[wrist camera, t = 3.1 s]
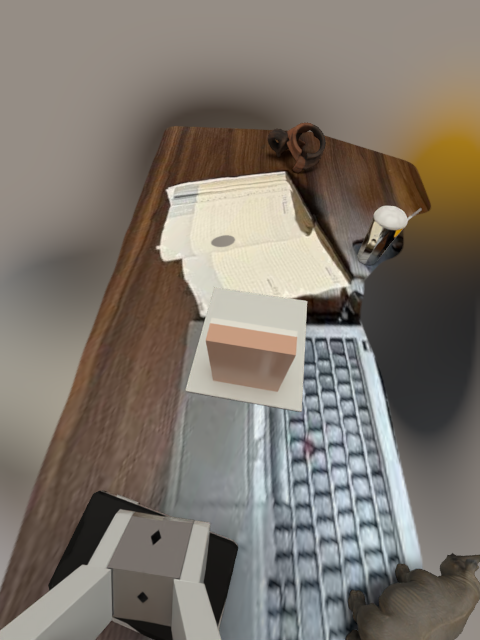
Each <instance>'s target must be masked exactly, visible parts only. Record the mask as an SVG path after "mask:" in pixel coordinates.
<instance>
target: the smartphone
mask: <svg viewBox="0 0 480 640" xmlns="http://www.w3.org/2000/svg"><path fill="white" fill-rule="evenodd" d="M120 509H122V510H128V511H135V512H140V513H146V514H151V515H157V516H162V517H165V516H168V517H171V516H169V515H166V514H163V513H161V512H158V511H156V510H153V509H150V508H148V507H145V506H143V505H140V502H137V501H135V500H132V499H129V498H127V497H124V496H121V495H117V496H116V495H114V494H111V493H108V492H106V491H103V490H101V491H98V492H96V493H94V494H93V495H92V497H91V499H90V501H89V503H88V505H87V507H86V509H85V511H84V513H83V516H82V518H81V520H80V522H79V524H78V526H77V528H76V530H75V532H74V534H73V536H72V538H71V540H70V542H69V544H68V546H67V548H66V550H65V552H64V554H63V556H62V558H61V560H60V562H59V564H58V566H57V568H56V570H55V572H54V575H53V577H52V579H51V581H50V583H49V585H48V586H49V591H50V590H51V589H53V588H54V587H55V586H56V585H58V584H59V583H60V582H61V581H62V580H64V579H65V578H66V577H67V576H69V575H70V574H71V573H72V572H74V571H75V570H76V569H77V568H79V567H80V566H81V565H88V563H89V561H90V559H91V557H92V556H93V554H94V552H95V550H96V548H97V547H98V545H99V543H100V541H101V539H102V538H103V536H104V534H105V532H106V530H107V529H108V527H109V525H110V523H111V521H112V520H113V518H114V516H115V514H116V513H117V512H118V511H119V510H120ZM237 551H238V545H237V544H236V542H235V541H234V540H232V539H229V538H226V537H224V536H221V535H219V534H216V533H213V532H211V531H210V535H209V545H208V554H207V562H206V570H205V576H204V582H203V584H205V588H206V591H207V594H208V598H209V601H210V604H211V607H212V611H213V614H214V617H215V620H216V624H217V627H218V630H219V627H220V623H221V619H222V615H223V610H224V606H225V602H226V598H227V593H228V589H229V585H230V581H231V576H232V572H233V568H234V564H235V559H236V555H237ZM111 621H113V622H115V623H118V624H120V625H122V626H124V627H127V628H129V629H131V630H134V631H136V632H138V633H140V634H143V635H145V636H147V637H149V638H152V639H154V640H173V636H172V630H171V626H166V625H161V624H156V623H152V622H147V621H141V620H133V619H125V618H117V617H112V620H111Z"/></svg>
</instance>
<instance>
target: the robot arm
mask: <svg viewBox="0 0 480 640" xmlns="http://www.w3.org/2000/svg"><path fill="white" fill-rule="evenodd" d="M209 535H210V523H209V522H202V521H195V520H191V519H183V518H176V517H168V516H165V517H162V516H157V515H151V514H146V513H140V512H135V511H128V510H122V509H120V510H119V511H118V512H117V513H116V514H115V516H114V518H113V520H112V521H111V523H110V525H109V527H108V529H107V530H106V532H105V534H104V536H103V538H102V539H101V541H100V543H99V545H98V547H97V548H96V550H95V552H94V554H93V556H92V557H91V559H90V561H89V563H88V565H81V566H80V567H79V568H77V569H76V570H75V571H74V572H72V573H71V574H70V575H69V576H67V577H66V578H65V579H64V580H62V581H61V582H60V583H59V584H58V585H56V586H55V587H54V588H53V589H51V590H50V591H49V592H48V593H46V594H45V595H44V596H43V597H41V598H40V599H39V600H38V601H36V602H35V603H34V604H33V605H31V606H30V607H29V608H28V609H26V610H25V611H24V612H23V613H21V614H20V615H19V616H18V617H17V618H15V619H14V620H13V621H12V622H10V623H9V624H8V625H7V626H5V627H4V628H3V629H2V630H0V640H95V639H96V638H97V637H98V636H99V634H100V633H101V632H102V631H103V630H104V629H105V627H106V626H107V625H108V624H109V623H110V622H111V620H112V617H117V618H125V619H133V620H141V621H147V622H152V623H156V624H161V625H166V626H171V630H172V636H173V640H221V637H220V633H219V630H218V627H217V624H216V620H215V617H214V614H213V611H212V607H211V604H210V601H209V598H208V594H207V591H206V588H205V584H203V582H204V576H205V570H206V562H207V554H208V545H209Z"/></svg>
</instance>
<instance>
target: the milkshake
mask: <svg viewBox="0 0 480 640" xmlns="http://www.w3.org/2000/svg"><path fill="white" fill-rule="evenodd" d="M420 211H421V208H420V209H419V210H417V211H416V212H415V213H413V214H412V215H411V216H410V217H408V218H407V216H406V214H405V213H404V211H403V210H401V209H399V208H397V207H395V206H382V207H380V208H379V209H378V210H376V211H375V213H374V216H373V218H372V221H371V223H370V226H369V229H368V232H367V234H366V236H365V239H364V241H363V243H362V246H361V248H360V250H359V252H358V255H357V258H358V260H359V261H360V262H361V263H363V264H365V265H372V264H375V263H376V262H377V261H378V259H379V258H380V257H381V256H382V254H383V253H384V252H385V250H386V249H387V248H388V247H389V245H390V244H391V243H392V242H393V240H394V239H395V238H396V237H397V235H398V234H399V233H400V232H401V231H402V230H403V228H404V227H405V226H406V225H407V221H408V220H409V219H410V218H412V217H413V216H414V215H416V214H417V213H418V212H420Z"/></svg>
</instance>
